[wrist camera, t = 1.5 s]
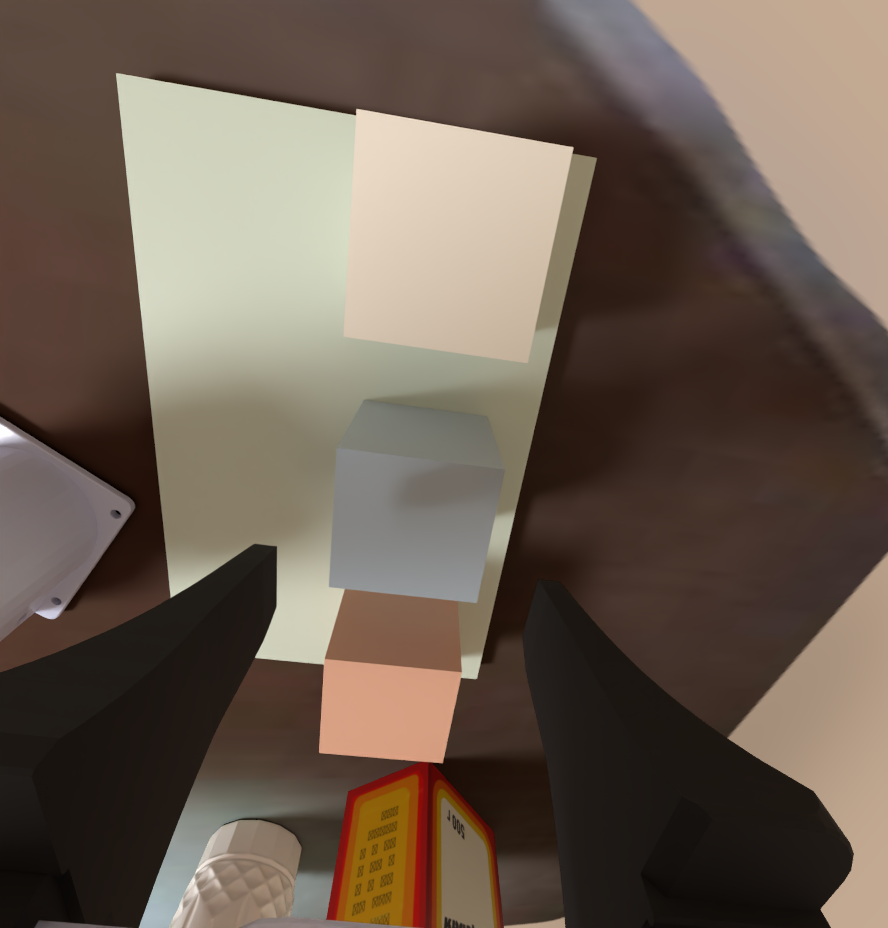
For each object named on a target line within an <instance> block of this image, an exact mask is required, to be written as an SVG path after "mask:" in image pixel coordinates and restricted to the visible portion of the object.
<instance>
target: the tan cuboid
mask: <svg viewBox="0 0 888 928" xmlns="http://www.w3.org/2000/svg"><path fill="white" fill-rule="evenodd" d="M573 148H574V147H568V146H563V145H557V144H551V143H546V142H540V141H535V140H529V139H523V138H518V137H512V136H506V135H501V134H495V133H490V132H484V131H478V130H473V129H467V128H461V127H456V126H450V125H444V124H439V123H433V122H428V121H422V120H416V119H411V118H405V117H399V116H394V115H388V114H382V113H377V112H371V111H366V110H360V109H357V110H356V127H355V144H354V161H353V179H352V196H351V213H350V230H349V248H348V265H347V282H346V299H345V317H344V334H343V337H349V338H356V339H363V340H370V341H377V342H384V343H391V344H398V345H405V346H412V347H419V348H425V349H432V350H439V351H446V352H453V353H460V354H467V355H474V356H481V357H488V358H495V359H502V360H509V361H516V362H523V363H528V360H529V355H530V350H531V346H532V341H533V336H534V332H535V327H536V322H537V317H538V313H539V308H540V303H541V299H542V294H543V289H544V285H545V280H546V275H547V270H548V266H549V261H550V256H551V252H552V247H553V242H554V237H555V233H556V228H557V223H558V219H559V214H560V209H561V205H562V200H563V195H564V190H565V186H566V181H567V176H568V172H569V167H570V162H571V157H572V153H573Z"/></svg>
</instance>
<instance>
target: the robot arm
mask: <svg viewBox="0 0 888 928" xmlns="http://www.w3.org/2000/svg"><path fill="white" fill-rule="evenodd" d="M134 509H135V503H134V502H133V500H132V499H130V498H129V497H128V496H126V495H124V494H123V493H121V492H120V491H118V490H117V489H115V488H113V487H112V486H110V485H109V484H107V483H105V482H104V481H102V480H101V479H99V478H97V477H96V476H94V475H93V474H91V473H89V472H88V471H86V470H85V469H83V468H81V467H80V466H78V465H77V464H75V463H73V462H72V461H70V460H69V459H67V458H65V457H64V456H62V455H61V454H59V453H57V452H56V451H54V450H53V449H51V448H49V447H48V446H46V445H45V444H43V443H41V442H40V441H38V440H37V439H35V438H33V437H32V436H30V435H29V434H27V433H25V432H24V431H22V430H21V429H19V428H17V427H16V426H14V425H13V424H11V423H10V422H8V421H6V420H5V419H3V418H2V417H0V641H1V640H2V639H4V638H5V637H6V636H7V635H8V634H10V633H11V632H12V631H13V630H14V629H15V628H17V627H18V626H19V625H20V624H21V623H23V622H24V621H25V620H26V619H27V618H28V617H30V616H31V615H32V614H33V613H34V612H36V613H38V614H39V615H41V616H43V617H45V618H48V619H55V618H57V617H58V616H59V615H60V614H61V613H62V612H63V611H64V610H65V608H66V607H67V605H68V604H69V602H70V601H71V600H72V598H73V597H74V595H75V594H76V592H77V591H78V590H79V588H80V587H81V585H82V584H83V582H84V581H85V580H86V578H87V577H88V575H89V574H90V572H91V571H92V570H93V568H94V567H95V565H96V564H97V562H98V561H99V560H100V558H101V557H102V555H103V554H104V552H105V551H106V550H107V548H108V547H109V545H110V544H111V542H112V541H113V540H114V538H115V537H116V535H117V534H118V532H119V531H120V530H121V528H122V527H123V525H124V524H125V522H126V521H127V520H128V518H129V517H130V515H131V514H132V512H133V511H134ZM115 510H117V511H119V512H120V513H121V515H119V514H118V513H117V512H116V511H115ZM276 607H277V546H270V545H262V544H253V545H251V546H250V547H248V548H247V549H245V550H244V551H242V552H241V553H240V554H238V555H237V556H235V557H234V558H232V559H231V560H229V561H228V562H226V563H225V564H223V565H222V566H220V567H219V568H218V569H216V570H215V571H213V572H211V573H210V574H208V575H207V576H205V577H204V578H202V579H201V580H199V581H198V582H196V583H195V584H193V585H191V586H190V587H188V588H186V589H185V590H183V591H181V592H180V593H178V594H176V595H175V596H173V597H171V598H170V599H168V600H166V601H165V602H163V603H161V604H160V605H158V606H156V607H154V608H152V609H151V610H149V611H147V612H145V613H143V614H141V615H139V616H137V617H135V618H133V619H131V620H129V621H127V622H125V623H123V624H121V625H119V626H117V627H115V628H113V629H111V630H109V631H106V632H104V633H102V634H99V635H97V636H95V637H92V638H90V639H88V640H85V641H83V642H81V643H78V644H76V645H74V646H71V647H69V648H67V649H64V650H62V651H59V652H57V653H54V654H51V655H49V656H46V657H43V658H41V659H38V660H35V661H33V662H30V663H27V664H24V665H21V666H18V667H15V668H12V669H9V670H7V671H4V672H1V673H0V928H139V925H140V922H141V920H142V917H143V914H144V911H145V908H146V906H147V903H148V900H149V897H150V895H151V892H152V889H153V886H154V884H155V881H156V878H157V875H158V873H159V870H160V868H161V865H162V862H163V860H164V857H165V855H166V852H167V849H168V847H169V844H170V841H171V839H172V836H173V834H174V831H175V828H176V826H177V823H178V821H179V818H180V816H181V813H182V811H183V808H184V806H185V803H186V801H187V798H188V796H189V793H190V791H191V788H192V786H193V783H194V781H195V779H196V776H197V774H198V771H199V769H200V767H201V764H202V762H203V760H204V757H205V755H206V752H207V750H208V748H209V745H210V743H211V741H212V738H213V736H214V734H215V732H216V730H217V728H218V726H219V724H220V722H221V720H222V718H223V716H224V714H225V712H226V710H227V708H228V707H229V705H230V703H231V701H232V699H233V697H234V695H235V694H236V692H237V690H238V688H239V686H240V684H241V682H242V681H243V679H244V677H245V675H246V673H247V671H248V669H249V668H250V666H251V664H252V662H253V660H254V658H255V656H256V654H257V653H258V651H259V649H260V647H261V645H262V643H263V641H264V639H265V636H266V634H267V631H268V629H269V626H270V623H271V621H272V618H273V615H274V613H275V610H276ZM523 647H524V658H525V667H526V674H527V678H528V683H529V687H530V692H531V696H532V700H533V705H534V709H535V713H536V718H537V722H538V726H539V730H540V735H541V739H542V743H543V748H544V752H545V757H546V762H547V768H548V774H549V781H550V788H551V796H552V803H553V811H554V819H555V828H556V836H557V845H558V854H559V863H560V873H561V884H562V894H563V904H564V914H565V925H566V926H565V927H566V928H831V927H830V925H829V924H828V922H827V920H826V918H825V917H824V915H823V913H822V912H821V910H820V909H821V907H822V906H823V905H824V904H825V903H826V902H827V901H828V899H829V898H830V897H831V896H832V894H834V892H835V891H836V890H837V889H838V888H839V886H840V885H841V884H842V883H843V882H844V881H845V879H846V877H847V876H848V874H849V872H850V871H851V867H852V861H853V855H854V853H853V850H852V847H851V845H850V842H849V841H848V839H847V838H846V837H845V835H844V834H843V832H842V831H841V829H840V828H839V827H838V825H837V824H836V822H835V821H834V819H833V818H832V817H831V815H830V814H829V812H828V811H827V809H826V808H825V807H824V805H823V804H822V802H821V801H820V800H819V798H818V797H817V795H816V794H815V793H814V791H812V790H810V789H809V788H807V787H805V786H804V785H802V784H800V783H798V782H797V781H795V780H793V779H792V778H790V777H788V776H787V775H785V774H783V773H782V772H780V771H778V770H776V769H775V768H773V767H771V766H770V765H768V764H766V763H764V762H763V761H761V760H760V759H758V758H756V757H755V756H753V755H752V754H750V753H749V752H747V751H745V750H744V749H743V748H741V747H739V746H738V745H736V744H735V743H733V742H732V741H730V740H729V739H727V738H726V737H724V736H723V735H722V734H720V733H719V732H717V731H716V730H714V729H713V728H712V727H710V726H709V725H707V724H706V723H705V722H703V721H702V720H701V719H699V718H698V717H697V716H695V715H694V714H693V713H691V712H690V711H689V710H688V709H686V708H685V707H684V706H682V705H681V704H680V703H678V702H677V701H676V700H675V699H674V698H672V697H671V696H670V695H669V694H667V693H666V692H665V691H664V690H663V689H662V688H660V687H659V686H658V685H657V684H656V683H655V682H654V681H652V680H651V679H650V678H649V677H648V676H647V675H646V674H644V673H643V672H642V671H641V670H640V669H639V668H638V667H637V666H636V665H635V664H634V663H633V662H632V661H631V660H630V659H629V658H628V657H627V656H626V655H625V654H624V653H623V652H622V651H621V650H620V649H619V648H618V647H617V646H616V645H615V644H614V643H613V642H612V641H611V640H610V639H609V638H608V637H607V636H606V634H605V633H604V632H603V631H602V630H601V629H600V628H599V627H598V626H597V624H596V623H595V622H594V621H593V620H592V619H591V618H590V617H589V615H588V614H587V613H586V612H585V611H584V610H583V608H582V607H581V606H580V605H579V604H578V603H577V601H576V600H575V599H574V598H573V597H572V595H571V594H570V593H569V592H568V591H567V590H566V589H565V587H564V586H563V585H562V584H561V583H560V582H556V581H548V580H540V579H538V581H537V585H536V589H535V592H534V596H533V600H532V603H531V607H530V610H529V614H528V618H527V621H526V625H525V629H524V632H523ZM239 928H416V927H405V926H393V925H381V924H369V923H358V922H346V921H334V920H322V919H311V918H299V917H280V918H262V919H257V920H255V921H253V922H251V923H248V924H246V925H244V926H242V927H239Z"/></svg>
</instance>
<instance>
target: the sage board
mask: <svg viewBox="0 0 888 928" xmlns="http://www.w3.org/2000/svg"><path fill="white" fill-rule="evenodd" d="M116 76H117V86H118V95H119V105H120V115H121V124H122V134H123V143H124V153H125V163H126V172H127V182H128V191H129V201H130V211H131V220H132V230H133V239H134V249H135V258H136V268H137V278H138V287H139V297H140V306H141V316H142V326H143V335H144V345H145V354H146V364H147V374H148V383H149V393H150V402H151V412H152V421H153V431H154V441H155V450H156V460H157V469H158V479H159V489H160V498H161V508H162V517H163V527H164V537H165V546H166V556H167V565H168V575H169V584H170V594H171V597H173V596H175V595H176V594H178V593H180V592H181V591H183V590H185V589H186V588H188V587H190V586H191V585H193V584H195V583H196V582H198V581H199V580H201V579H202V578H204V577H205V576H207V575H208V574H210V573H211V572H213V571H215V570H216V569H218V568H219V567H220V566H222V565H223V564H225V563H226V562H228V561H229V560H231V559H232V558H234V557H235V556H237V555H238V554H240V553H241V552H242V551H244V550H245V549H247V548H248V547H250V546H251V545H253V544H262V545H270V546H277V607H276V610H275V613H274V615H273V618H272V621H271V623H270V626H269V629H268V631H267V634H266V636H265V639H264V641H263V643H262V645H261V647H260V649H259V651H258V653H257V654H256V656H255V658H263V659H274V660H284V661H294V662H305V663H315V664H324V659H325V656H326V652H327V649H328V645H329V642H330V638H331V635H332V631H333V628H334V625H335V621H336V618H337V614H338V611H339V607H340V604H341V601H342V597H343V594H344V590H345V589H341V588H332V587H329V574H330V557H331V539H332V522H333V505H334V488H335V470H336V453H337V447H338V445H339V443H340V441H341V440H342V438H343V436H344V434H345V433H346V431H347V429H348V427H349V425H350V424H351V422H352V420H353V418H354V417H355V415H356V413H357V411H358V410H359V408H360V406H361V404H362V403H363V401H364V400H372V401H379V402H386V403H394V404H401V405H408V406H416V407H423V408H431V409H438V410H445V411H453V412H460V413H468V414H475V415H482V416H487V418H488V420H489V423H490V426H491V429H492V432H493V435H494V438H495V441H496V444H497V447H498V450H499V453H500V456H501V459H502V462H503V465H504V468H505V472H504V477H503V482H502V487H501V491H500V496H499V501H498V505H497V510H496V515H495V519H494V524H493V529H492V534H491V538H490V543H489V548H488V552H487V557H486V562H485V567H484V571H483V576H482V581H481V585H480V590H479V595H478V599H477V603H471V602H462V601H458V616H459V632H460V649H461V665H462V674H461V678H470V679H477V676H478V672H479V667H480V663H481V659H482V654H483V650H484V646H485V641H486V637H487V633H488V628H489V624H490V620H491V615H492V611H493V607H494V602H495V598H496V594H497V589H498V585H499V581H500V576H501V572H502V568H503V563H504V559H505V555H506V550H507V546H508V542H509V537H510V533H511V529H512V524H513V520H514V516H515V511H516V507H517V503H518V498H519V494H520V490H521V485H522V481H523V477H524V472H525V468H526V464H527V459H528V455H529V451H530V446H531V442H532V438H533V433H534V429H535V425H536V420H537V416H538V412H539V407H540V403H541V399H542V394H543V390H544V385H545V381H546V377H547V372H548V368H549V364H550V359H551V355H552V351H553V346H554V342H555V338H556V333H557V329H558V325H559V320H560V316H561V312H562V307H563V303H564V299H565V294H566V290H567V286H568V281H569V277H570V273H571V268H572V264H573V260H574V255H575V251H576V247H577V242H578V238H579V234H580V229H581V225H582V221H583V216H584V212H585V208H586V203H587V199H588V195H589V190H590V186H591V182H592V177H593V173H594V169H595V164H596V160H597V158H594V157H588V156H582V155H577V154H572V157H571V162H570V167H569V172H568V176H567V181H566V186H565V190H564V195H563V200H562V205H561V209H560V214H559V219H558V223H557V228H556V233H555V237H554V242H553V247H552V252H551V256H550V261H549V266H548V270H547V275H546V280H545V285H544V289H543V294H542V299H541V303H540V308H539V313H538V317H537V322H536V327H535V332H534V336H533V341H532V346H531V350H530V355H529V360H528V363H523V362H516V361H509V360H502V359H495V358H488V357H481V356H474V355H467V354H460V353H453V352H446V351H439V350H432V349H425V348H419V347H412V346H405V345H398V344H391V343H384V342H377V341H370V340H363V339H356V338H349V337H343V334H344V317H345V299H346V282H347V265H348V248H349V230H350V213H351V196H352V179H353V161H354V144H355V127H356V115H350V114H345V113H339V112H333V111H328V110H322V109H316V108H311V107H305V106H299V105H294V104H288V103H282V102H277V101H271V100H265V99H260V98H254V97H248V96H243V95H237V94H231V93H226V92H220V91H214V90H209V89H203V88H197V87H192V86H186V85H180V84H175V83H169V82H163V81H158V80H152V79H146V78H141V77H135V76H129V75H124V74H118V73H116Z"/></svg>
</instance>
